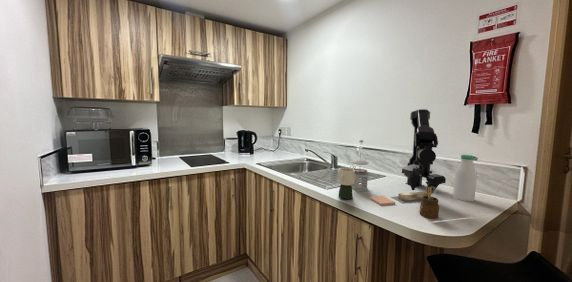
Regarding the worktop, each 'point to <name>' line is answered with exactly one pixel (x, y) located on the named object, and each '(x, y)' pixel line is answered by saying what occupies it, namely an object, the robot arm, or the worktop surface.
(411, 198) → the stick
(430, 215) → the utensil holder
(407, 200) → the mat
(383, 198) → the tile
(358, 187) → the french press
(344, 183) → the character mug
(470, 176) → the milk bottle
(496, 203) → the worktop surface
